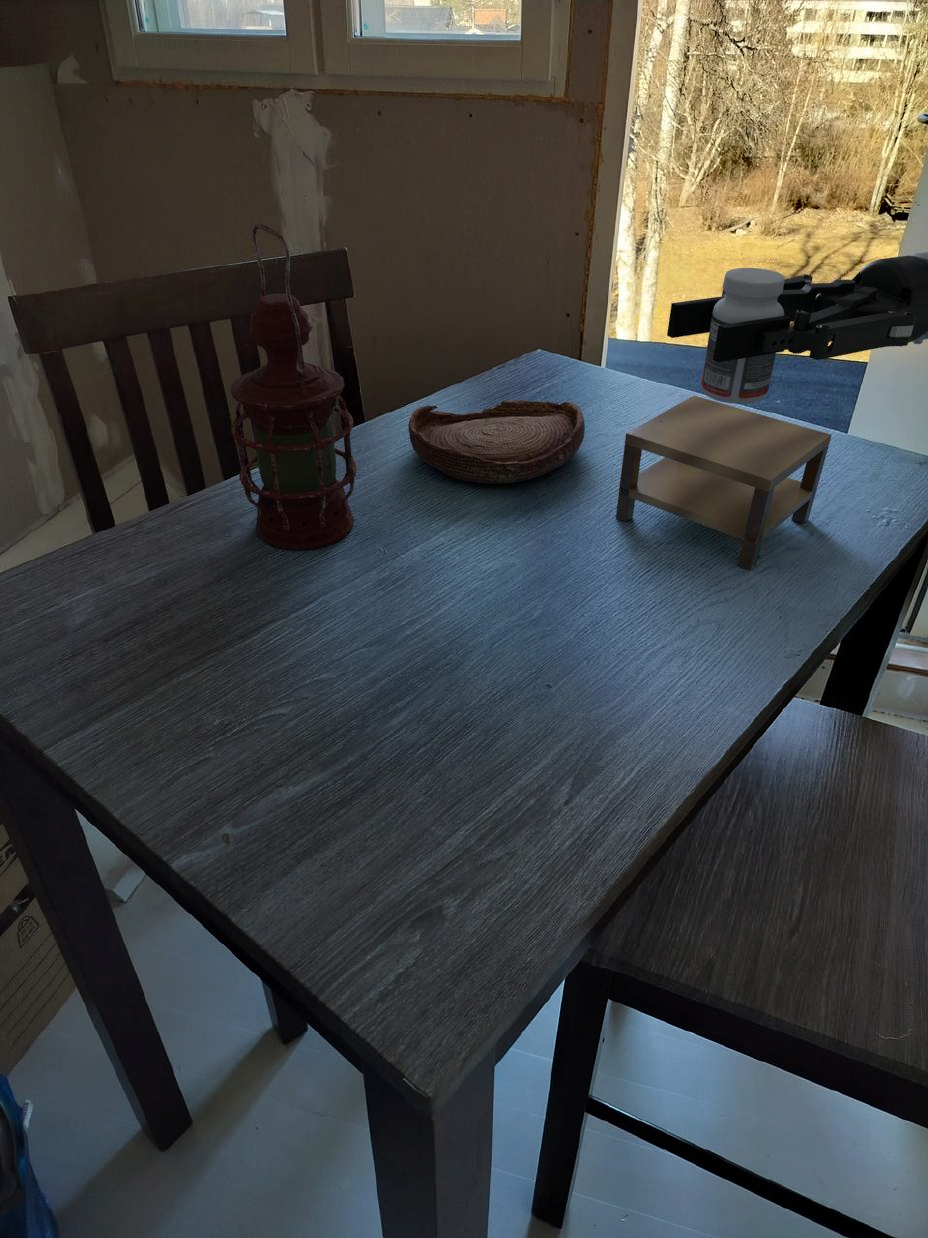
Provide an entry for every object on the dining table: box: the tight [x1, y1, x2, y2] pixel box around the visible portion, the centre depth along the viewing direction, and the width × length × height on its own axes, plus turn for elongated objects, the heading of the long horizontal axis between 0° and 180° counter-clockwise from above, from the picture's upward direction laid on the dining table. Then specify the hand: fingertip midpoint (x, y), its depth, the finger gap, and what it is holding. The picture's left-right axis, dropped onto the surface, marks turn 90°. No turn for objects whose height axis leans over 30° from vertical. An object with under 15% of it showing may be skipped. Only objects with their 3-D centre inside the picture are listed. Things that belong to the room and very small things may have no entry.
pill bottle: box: [700, 267, 786, 405], centre depth 72 cm, size 6×6×10 cm
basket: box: [408, 399, 586, 485], centre depth 105 cm, size 22×20×5 cm
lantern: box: [230, 223, 358, 551], centre depth 83 cm, size 12×12×30 cm
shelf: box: [615, 395, 833, 571], centre depth 91 cm, size 16×14×10 cm
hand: (694, 331), depth 69 cm, fingers closed on pill bottle, 6 cm apart
